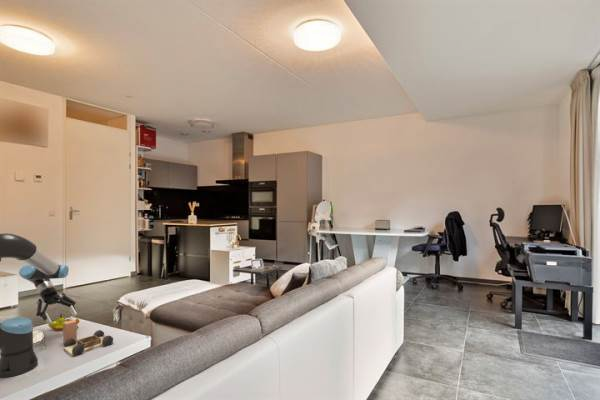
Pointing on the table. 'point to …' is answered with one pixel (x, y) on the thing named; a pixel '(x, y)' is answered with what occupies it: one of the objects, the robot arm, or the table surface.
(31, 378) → the table surface
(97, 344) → the chassis
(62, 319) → the toy boat
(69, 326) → the pink rectangular block
